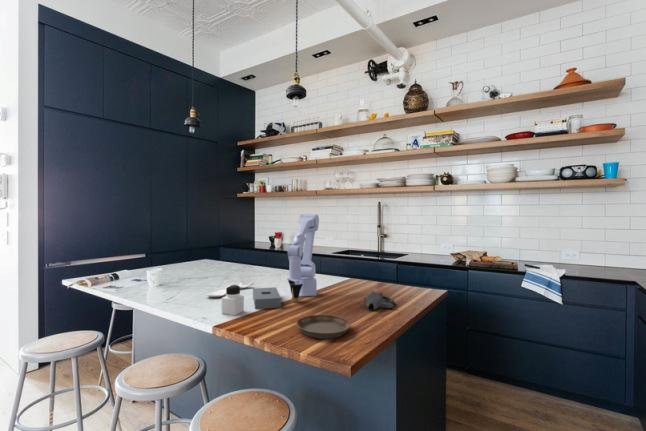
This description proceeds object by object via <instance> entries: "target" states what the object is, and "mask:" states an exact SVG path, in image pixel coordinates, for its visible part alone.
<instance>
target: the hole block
mask: <svg viewBox="0 0 646 431" xmlns="http://www.w3.org/2000/svg"><path fill="white" fill-rule="evenodd" d="M252 299H253V304H254V309H255V310H260V309H275V308H278V309H279V308H282V297H281V294H280V292H279V291H278V289H277V287H257V288H256V287H255V288H253V287H252Z"/></svg>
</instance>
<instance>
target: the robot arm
mask: <svg viewBox="0 0 646 431" xmlns="http://www.w3.org/2000/svg"><path fill="white" fill-rule="evenodd" d="M298 222H299V226H300V227H299V230H298V233H296V234H295V235H294V238H293V240H292V242H291V244H290V245H289V246H288V248H287V257H288V262H289V270H288V273H289V276H288V277H287V278H286V280H287V281H288V284H289V287H290V293H291V295H292V289H293V295H294V298H298V299H299V298H300V297H315V296H316V297H317V296H318V294H317V293H318V292H317V286H318V283H317V279H316V278H315V276H316V273H317V271H316V266H317V265H316V264H315V262H313V260H312V257H313V250H314V249H313V248H314V240H315V235H316V232H317V231H318V230H319V224H320V217H319V215H318V214H317V213H315V214H309V213H308V214H307V213H306V214H304V213H301V214H300V216H299V221H298ZM293 283H295V284H293Z"/></svg>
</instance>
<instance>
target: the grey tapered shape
mask: <svg viewBox="0 0 646 431" xmlns="http://www.w3.org/2000/svg"><path fill="white" fill-rule="evenodd" d="M364 300H365V301H364V302H363V303H364V304H365V306H366V308H367V309H368V310H370V311H375V310H377V309H379V308H380V309H390V308H393V309H394V307H393V305H397V304H396V302H395V300H394V299H392V298H390V296H389V297H388V296H386V295H383V292H377V291H374V290H372V291H370V294H369V293H366V296H365V297H364Z"/></svg>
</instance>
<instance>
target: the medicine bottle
mask: <svg viewBox="0 0 646 431" xmlns="http://www.w3.org/2000/svg"><path fill="white" fill-rule="evenodd" d="M238 285H239V284H238ZM238 285H237V284H229V285H227V286H226V287H225V289H226V294H225V295H224V296H222V297H221V314H222V315H230V316H237V315H239V314H240V313H242V312H244V311H245V308H244V307H245V304H244V303H245V296H244V295H243V294H242V295H240V293H241V292H240V291H241V288H240V287H239V286H238Z"/></svg>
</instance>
